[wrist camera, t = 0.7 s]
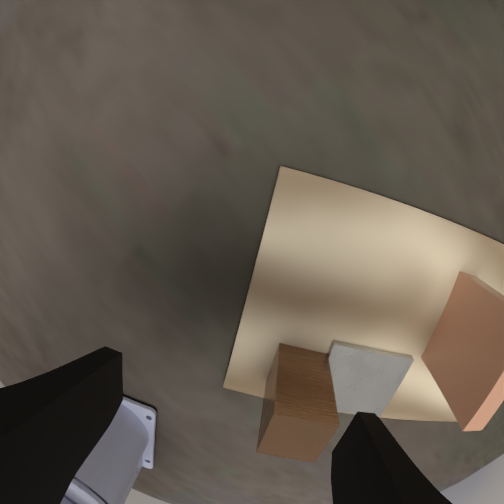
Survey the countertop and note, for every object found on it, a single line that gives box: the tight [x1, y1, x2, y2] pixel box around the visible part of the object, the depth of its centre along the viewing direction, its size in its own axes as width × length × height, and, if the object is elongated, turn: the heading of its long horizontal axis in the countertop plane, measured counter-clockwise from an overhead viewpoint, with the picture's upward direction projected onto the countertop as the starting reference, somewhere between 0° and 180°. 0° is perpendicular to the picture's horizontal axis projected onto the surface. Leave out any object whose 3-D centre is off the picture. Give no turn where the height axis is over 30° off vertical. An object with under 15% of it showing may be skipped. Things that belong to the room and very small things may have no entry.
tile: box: [421, 271, 504, 431], centre depth 13 cm, size 6×2×7 cm, turn 166°
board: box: [223, 166, 504, 421], centre depth 17 cm, size 14×22×1 cm, turn 76°
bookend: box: [256, 340, 414, 462], centre depth 15 cm, size 5×8×6 cm, turn 76°
